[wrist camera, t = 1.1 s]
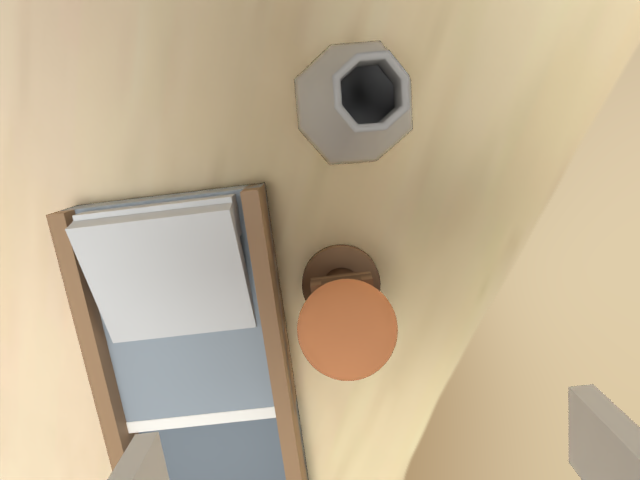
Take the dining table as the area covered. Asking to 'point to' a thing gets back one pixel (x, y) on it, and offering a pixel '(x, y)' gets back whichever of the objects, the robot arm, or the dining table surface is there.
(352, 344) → the ball
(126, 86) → the dining table surface
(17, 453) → the dining table surface
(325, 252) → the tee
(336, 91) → the flask
